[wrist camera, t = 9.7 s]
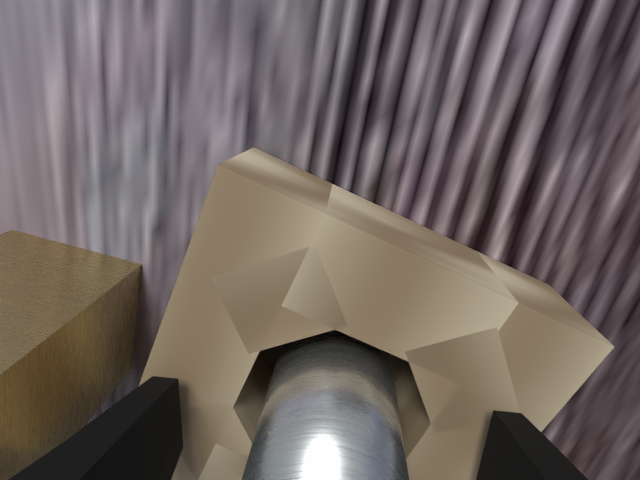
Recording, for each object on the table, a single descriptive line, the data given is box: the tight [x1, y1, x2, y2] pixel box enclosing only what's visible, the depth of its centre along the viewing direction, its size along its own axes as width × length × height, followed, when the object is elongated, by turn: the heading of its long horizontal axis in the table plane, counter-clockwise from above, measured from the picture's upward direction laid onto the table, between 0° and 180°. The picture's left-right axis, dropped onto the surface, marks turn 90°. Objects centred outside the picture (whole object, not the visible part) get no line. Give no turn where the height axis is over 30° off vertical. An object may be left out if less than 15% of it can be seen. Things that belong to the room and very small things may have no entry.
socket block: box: [139, 148, 614, 480], centre depth 11 cm, size 9×9×3 cm
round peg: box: [242, 330, 409, 480], centre depth 9 cm, size 3×3×6 cm
